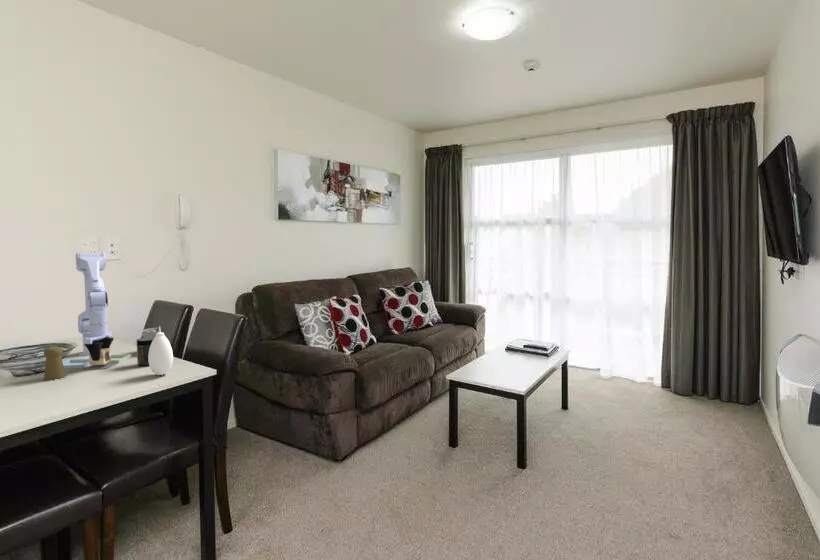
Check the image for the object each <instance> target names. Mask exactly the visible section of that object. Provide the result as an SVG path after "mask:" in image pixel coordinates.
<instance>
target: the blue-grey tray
mask: <svg viewBox="0 0 820 560" xmlns="http://www.w3.org/2000/svg"><path fill="white" fill-rule="evenodd" d="M62 362H63V367H64V370H71V369H74V370H75V369H84V368H86V367H89V366H91V365H90V363H89V358H73V359H72V358H70V359H67V360H65V361H62Z"/></svg>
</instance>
